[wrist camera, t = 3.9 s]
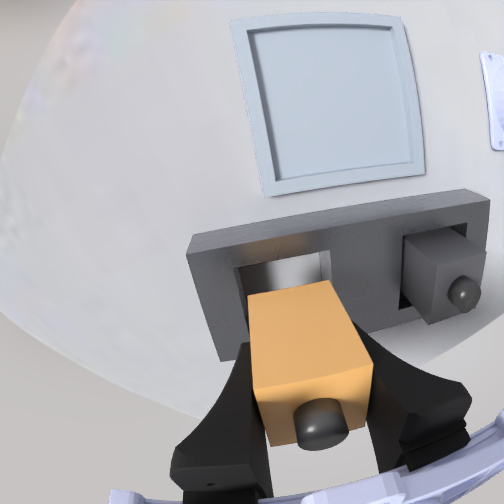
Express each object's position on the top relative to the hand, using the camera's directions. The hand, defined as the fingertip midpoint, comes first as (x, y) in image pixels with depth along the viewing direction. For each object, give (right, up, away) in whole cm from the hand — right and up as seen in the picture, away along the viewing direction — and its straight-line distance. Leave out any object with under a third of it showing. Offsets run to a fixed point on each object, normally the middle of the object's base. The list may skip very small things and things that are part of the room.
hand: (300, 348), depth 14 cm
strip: (+5, +4, +6) cm, 9 cm away
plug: (0, +1, +2) cm, 2 cm away
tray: (+3, +14, +2) cm, 14 cm away
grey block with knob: (+10, +5, +6) cm, 12 cm away
